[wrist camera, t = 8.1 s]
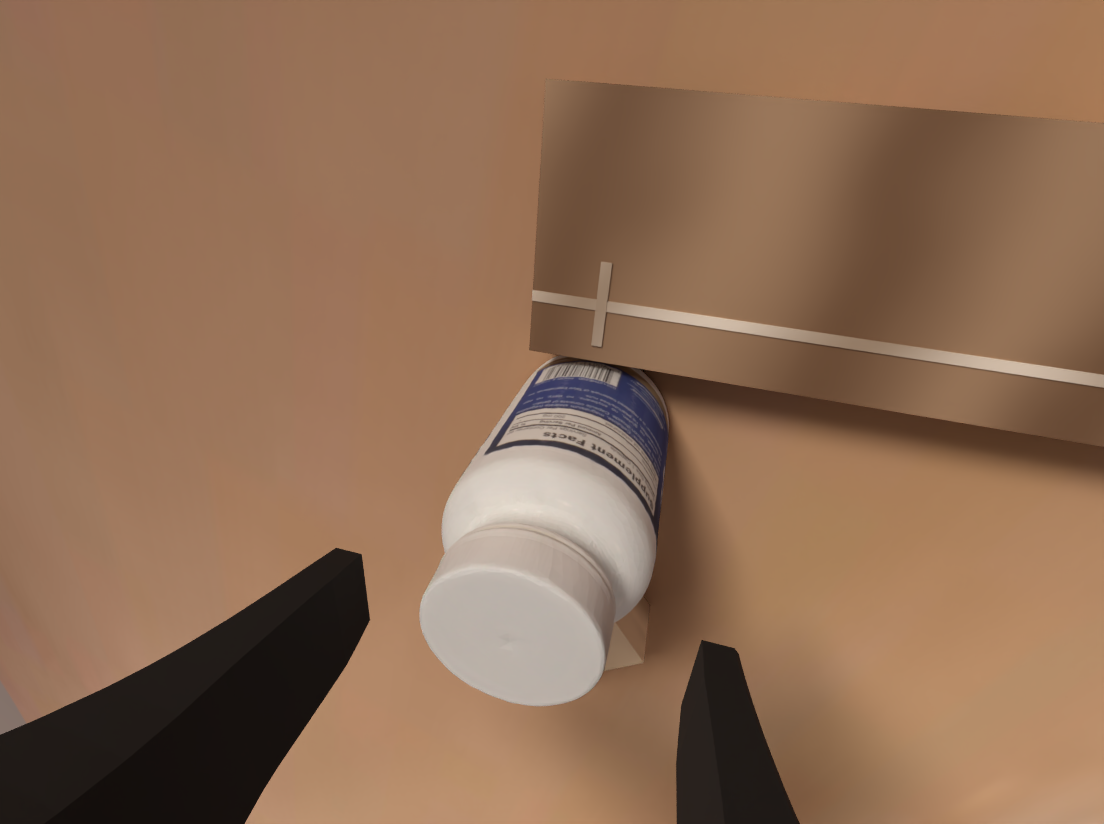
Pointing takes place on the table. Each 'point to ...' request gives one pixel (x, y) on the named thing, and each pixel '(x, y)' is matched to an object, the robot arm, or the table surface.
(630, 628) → the offcut
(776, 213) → the board
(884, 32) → the table surface
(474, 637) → the pill bottle
